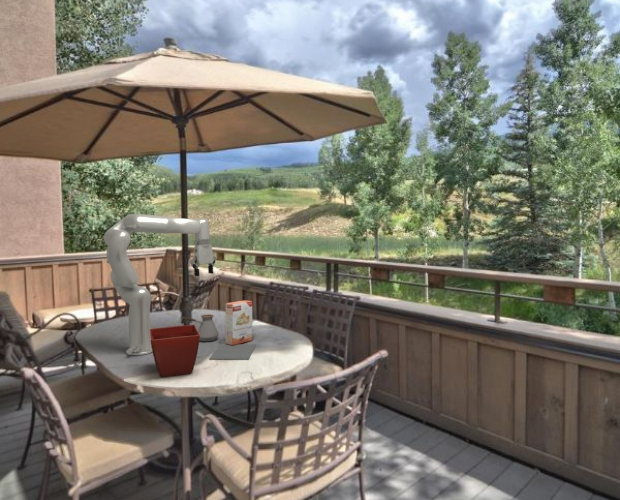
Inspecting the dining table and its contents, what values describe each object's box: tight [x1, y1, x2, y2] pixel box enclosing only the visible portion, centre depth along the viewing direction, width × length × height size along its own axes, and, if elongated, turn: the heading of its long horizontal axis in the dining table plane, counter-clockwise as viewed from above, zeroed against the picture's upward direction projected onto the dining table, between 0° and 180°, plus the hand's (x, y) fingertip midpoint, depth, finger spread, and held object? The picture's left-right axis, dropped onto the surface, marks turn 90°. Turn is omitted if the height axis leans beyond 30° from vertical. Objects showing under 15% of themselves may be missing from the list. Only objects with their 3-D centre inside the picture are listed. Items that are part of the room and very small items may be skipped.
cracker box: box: [224, 299, 253, 345], centre depth 225 cm, size 14×6×21 cm, turn 143°
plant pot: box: [150, 324, 200, 378], centre depth 185 cm, size 19×19×17 cm
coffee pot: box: [179, 314, 219, 343], centre depth 227 cm, size 21×12×15 cm, turn 136°
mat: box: [208, 343, 256, 361], centre depth 211 cm, size 22×18×1 cm
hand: (204, 274), depth 233 cm, fingers open, 9 cm apart
